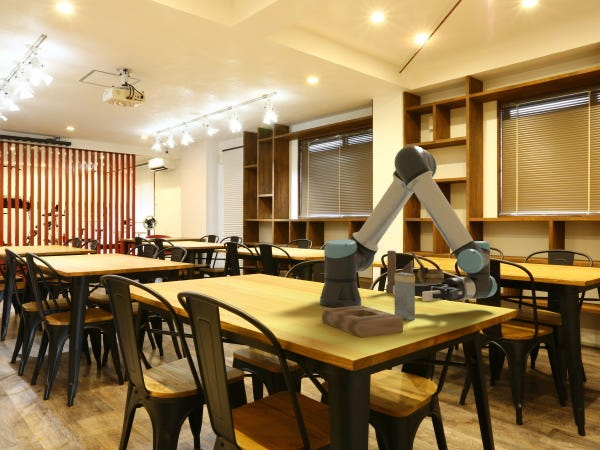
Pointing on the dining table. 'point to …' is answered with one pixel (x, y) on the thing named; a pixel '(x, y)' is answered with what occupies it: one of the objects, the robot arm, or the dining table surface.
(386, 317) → the walnut post block
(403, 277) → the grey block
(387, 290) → the wooden block
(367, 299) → the dining table surface
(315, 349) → the dining table surface
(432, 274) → the wooden mug
